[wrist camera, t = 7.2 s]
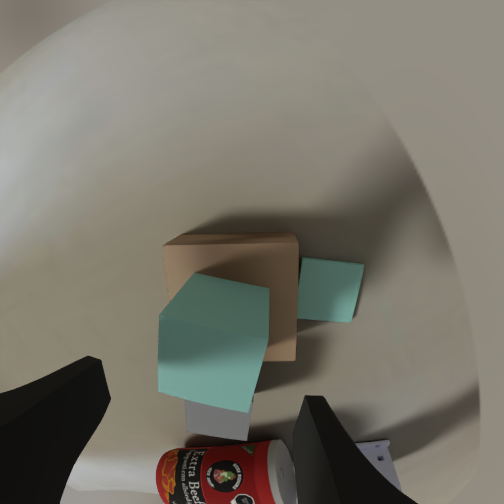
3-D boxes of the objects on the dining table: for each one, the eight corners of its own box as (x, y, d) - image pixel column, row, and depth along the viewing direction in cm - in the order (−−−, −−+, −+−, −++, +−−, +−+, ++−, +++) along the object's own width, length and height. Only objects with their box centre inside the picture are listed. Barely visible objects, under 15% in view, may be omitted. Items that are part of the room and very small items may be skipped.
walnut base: (292, 231, 17) (298, 242, 14) (291, 331, 19) (295, 360, 15) (182, 233, 18) (162, 245, 14) (192, 330, 19) (178, 357, 16)
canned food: (156, 438, 20) (272, 428, 19) (196, 458, 25) (291, 448, 23) (151, 509, 14) (280, 513, 12) (195, 515, 18) (300, 511, 17)
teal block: (254, 351, 15) (247, 412, 10) (186, 336, 15) (158, 391, 11) (269, 288, 14) (268, 339, 9) (193, 272, 14) (159, 314, 10)
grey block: (257, 354, 19) (252, 402, 14) (251, 393, 20) (246, 440, 15) (201, 347, 19) (184, 391, 14) (201, 386, 20) (186, 431, 15)
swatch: (362, 263, 17) (364, 265, 16) (349, 319, 18) (351, 322, 17) (301, 257, 17) (302, 258, 17) (292, 315, 18) (293, 318, 18)
